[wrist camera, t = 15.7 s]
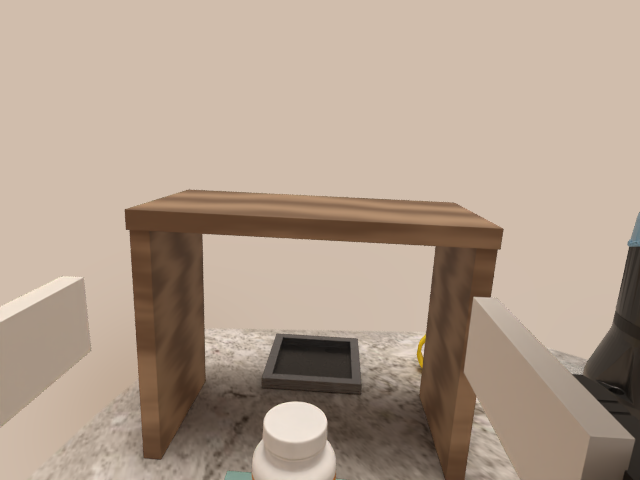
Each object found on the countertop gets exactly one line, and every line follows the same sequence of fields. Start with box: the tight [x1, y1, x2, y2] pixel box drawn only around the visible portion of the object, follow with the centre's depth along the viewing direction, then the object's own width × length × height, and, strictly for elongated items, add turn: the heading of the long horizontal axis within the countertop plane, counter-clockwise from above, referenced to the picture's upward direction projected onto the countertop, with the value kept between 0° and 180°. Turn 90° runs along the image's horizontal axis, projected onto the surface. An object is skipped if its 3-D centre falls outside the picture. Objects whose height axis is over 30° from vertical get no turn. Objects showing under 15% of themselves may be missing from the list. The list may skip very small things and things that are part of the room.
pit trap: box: [262, 334, 361, 394], centre depth 52 cm, size 11×11×1 cm
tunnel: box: [125, 190, 503, 480], centre depth 39 cm, size 13×27×22 cm, turn 87°
